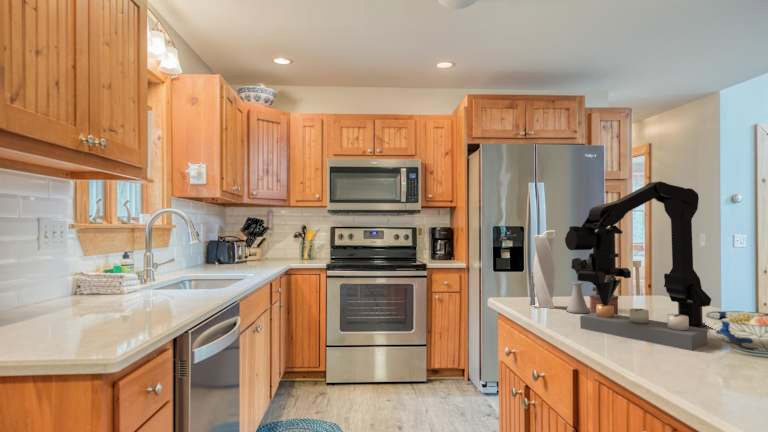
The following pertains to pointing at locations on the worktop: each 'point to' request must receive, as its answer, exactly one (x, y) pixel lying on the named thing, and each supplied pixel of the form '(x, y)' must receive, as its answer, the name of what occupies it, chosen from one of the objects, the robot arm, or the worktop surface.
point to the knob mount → (646, 331)
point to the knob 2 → (678, 321)
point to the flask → (577, 300)
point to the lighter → (596, 300)
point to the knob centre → (639, 315)
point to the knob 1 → (605, 311)
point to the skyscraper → (543, 272)
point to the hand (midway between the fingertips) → (605, 304)
